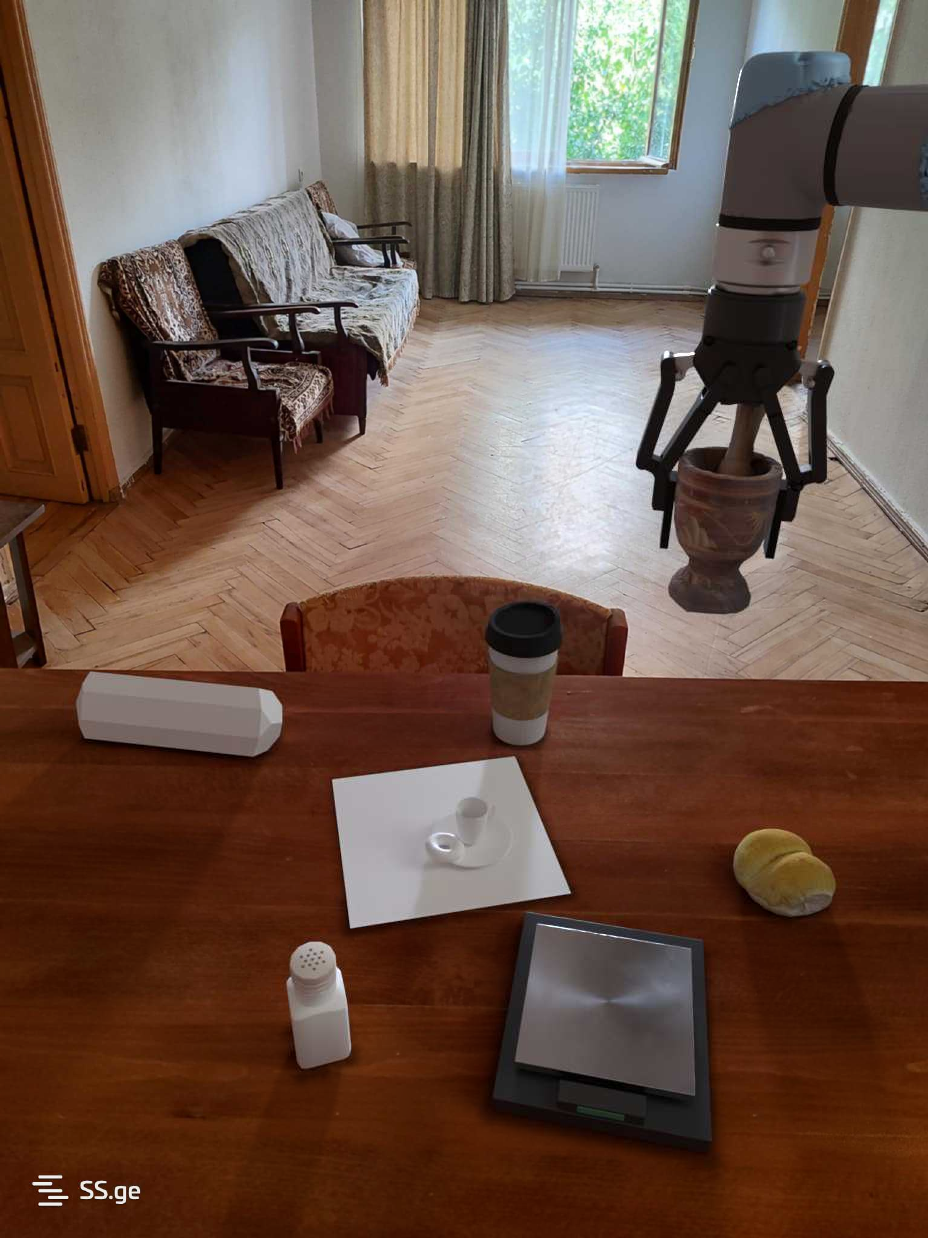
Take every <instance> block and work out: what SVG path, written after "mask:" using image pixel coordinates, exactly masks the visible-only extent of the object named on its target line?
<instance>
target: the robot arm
mask: <svg viewBox="0 0 928 1238" xmlns="http://www.w3.org/2000/svg"><path fill="white" fill-rule="evenodd" d="M851 67H852V66H851V59H850V57H849V56H848V54H846V53H844V52H841V51H829V50H828V51H827V50H826V51H825V50H824V51H823V50H822V51H821V50H809V51H798V50H797V51H795V50H793V51H791V50H790V51H772V52H771V51H770V52H761V53H757V54H755V55H753V56H751V57H750V58H748V60H746V61H745V63H744V64H743V66H742V68H741V69H740V73H739V77H738V82H737V87H736V92H735V97H734V102H733V108H732V113H731V117H730V118H731V119H730V122H728V124H727V132H728V139H727V147H726V157H725V165H724V173H723V180H722V181H723V183H722V189H721V199H720V206H719V207H720V208H719V213H718V219H717V224H716V228H715V229H716V230H715V236H714V244H713V251H712V258H711V266H710V273H709V275H710V278H711V279H712V280H713V281H715V282H716V283H715V284H714V285H712V286H711V287H710V289H708V290H707V295H706V302H705V310H704V317H703V324H702V325H703V326H702V332H701V337H700V341H699V343H698V345H697V346H696V347H695V349H694V351H693V352H684V353H674V352H673V351H671V350H667V351H666V350H665V351H664V352H663V353H662V354H661V357H660V364H659V367H660V368H659V369H660V371H659V372H660V373H659V374H660V382H659V385H658V388H657V391H656V394H655V397H654V400H653V403H652V406H651V409H650V413H649V416H648V419H647V422H646V424H645V428H644V431H643V434H642V436H641V440H640V443H639V446H638V449H637V453H636V457H635V467H636V468H637V470H640V471H646V472H648V473H651V475H652V476H653V478H654V479H653V486H652V487H653V488H652V497H651V508H652V511H657V512H662V518H661V526H660V534H659V535H660V537H659V549H660V550H661V549H663V550H668V549H669V543H670V537H671V528H672V521H673V515H674V498H675V490H676V481H677V470H674V468H675V467H676V465H678V462H679V457H681V456H682V455H683V453H684V452H685V451H687V450H688V447H689V446H690V444H691V442H692V441H693V440H694V438H695V437H696V435H697V434H698V432H699V431H700V429H701V428H702V426H703V425H704V423H706V422H705V421H706V420H707V419H708V417H709V416H710V415H711V414H712V413H713V412H714V410H715V409H716V407H717V405H718V404H719V403H720V404H719V405H721V406H733V405H737V404H743V405H746V406H749V407H759V405H762V404H763V405H764V408H765V412H766V414H765V416H766V418H767V421H768V424H769V427H770V430H771V433H772V437H773V440H774V443H775V446H776V449H777V453H778V457H779V459H780V464H781V466H782V467H783V468H782V470H783V473H784V475H785V478H782V481H781V485H780V490H779V493H778V498H777V501H776V508H775V513H774V516H773V519H772V522H771V525H770V528H769V530H768V532H767V534H766V536H765V538H764V540H763V542H762V547H763V548H762V549H763V554H764V558H765V559H766V560H767V559H768V560H775V556H776V551H777V546H778V541H779V537H780V536H779V535H780V531H781V527H782V522H786V523H792V522H793V521H794V520H795V518H796V515H797V511H798V505H799V502H800V501H799V500H800V495H801V492H802V491H803V490H804V488H805V486H808V485H811V484H817V485H821V484H823V483H825V482H826V481H827V479H828V407H827V406H828V400H827V398H828V394H829V391H830V388H831V386H832V383H833V380H834V377H835V369H834V367H833V366H832V364H831V362H830V361H829V360H828V359H823V358H822V359H819V360H818V361H816V360H811V359H808V358H807V359H806V358H801V355H800V353H799V340H800V335H801V331H802V324H803V319H804V314H805V310H806V309H805V308H806V305H807V304H806V303H807V299H808V298H807V297H808V295H807V294H806V292H805V290H803V289H802V288H801V287H803V286H804V285H806V284H807V283H809V282H810V281H811V276H812V270H813V266H814V265H813V264H814V261H815V254H816V248H817V243H818V237H819V231H820V228H821V225H822V219H823V218H822V217H823V213H824V209H825V207H826V206H832V207H859V208H869V209H870V208H871V209H883V210H893V211H905V212H908V211H909V212H921V213H928V83H919V84H918V83H917V84H896V85H895V84H893V85H891V84H890V85H869V84H860V83H851V81H852V77H851V75H850V72H851ZM691 368H694V369H695V371H696V373H697V375H698V376H699V378H700V380H701V381H702V384H703V387H702V389H700V392H699V393H698V395H697V397H696V400H695V401H694V402H693V404H692V406H691V407H690V409H689V410H688V412H687V413H686V415H685V417H684V418H683V420H682V421H681V422H680V424H679V426H678V428H677V429H676V431H675V432H674V433H673V435H672V436H671V438H670V440H669V441H668V443H667V444H666V445H665V447H664V449H663V450H662V452H661V454H658V455H657V454H656V453H655V450H656V447H657V444H658V441H659V439H660V435H661V432H662V429H663V426H664V423H665V420H666V417H667V414H668V411H669V409H670V405H671V403H672V400H673V397H674V394H675V390H676V383H677V382H681V381H683V380H684V379H685V378H686V376H687V375H686V374H687V372H688V371H689V369H691ZM797 374H800V375H801V382H802V385H803V387H804V388H805V389H807V393H806V394H807V395H806V396H807V398H806V399H807V400H806V401H807V404H806V405H807V450H808V451H807V452H808V453H807V454H808V455H807V456H808V458H807V459H808V463H807V464H805V465H801V466H799V463H798V460H797V456H796V452H795V448H794V446H793V443H792V439H791V436H790V433H789V429H788V427H787V426H788V425H787V423H786V420H785V416H784V412H783V410H782V406H781V403H780V400H779V397H778V393H779V392H780V391H781V390H782V389H783V388H784V387H785V386H786V385H787V384H788V383H789V382H790V381H791V380H792V379H793V378H794V377H795V376H796V375H797Z"/></svg>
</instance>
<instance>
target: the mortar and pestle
mask: <svg viewBox="0 0 928 1238" xmlns="http://www.w3.org/2000/svg"><path fill="white" fill-rule="evenodd" d="M765 416H766V412H765V408H764V405H763V404H762V405H759V407H749V406H746V405H743V404H736V408H735V415H734V423H733V427H732V431H731V437H730V441H729V444H728V446H714V445H713V446H704V447H693V448H690V449H686V450H685V452H684V453H683V455H682V456H681V457H679V461H678V462H677V470H676V471H677V481H676V490H675V498H674V507H673V522H674V523H673V524H674V528H675V535H676V539H677V541H678V542H677V543H678V544H679V545H680V547H681V549H682V550H683V552H684V553H685V554H686V556H687V557H688V562H687V564H686V565H685V566H681V567H680V568H679V569H678V570H677V571H676V572H674V574H672V575H671V578H670V580H669V584H668V586H667V592H668V596H669V597H670V598H671V600H672V601H674V603H676V604H677V606H679V607H680V608H681V609H682V610H683V611H685V612H686V613H697V614H707V615H730V614H738V613H741V612H743V611H744V610H746V609H747V608H748V607H749V606H750V603H751V600H752V594H751V591H750V588H749V585H748V581H747V579H746V578H745V576H743V574H742V573H741V571H740V568H741V565H743V563H744V562H746V561H747V560H749V559H751V558H752V557H753V556H755V555H756V553H757V552H758V551H759V549H760V548H761V546H762V545H763V543H764V538H765V536H766V534H767V532H768V530H769V528H770V525H771V522H772V519H773V516H774V513H775V508H776V501H777V498H778V493H779V490H780V485H781V481H782V479H783V477H784V469H783V466H782V463H781V462H779V461H778V460H776V459H775V458H773V457H771V456H767V455H765V454H764V453H761V452H757V451H755V442H756V440H757V437H758V434H759V431H760V428H761V425H762V422H763V419H764V418H765Z"/></svg>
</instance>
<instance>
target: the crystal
mask: <svg viewBox="0 0 928 1238" xmlns="http://www.w3.org/2000/svg"><path fill="white" fill-rule="evenodd" d="M75 706H76V712H77V713H76V714H77V720H78V727H79V729H80V731H81V733H82V735H83V738H84V739H90V740H97V741H105V742H106V741H107V742H115V743H126V744H135V745H145V746H153V747H163V748H171V749H181V750H190V751H199V752H206V753H208V752H209V753H218V754H227V755H234V756H242V757H243V756H244V757H245V756H246V757H251V758H253V757H256V756H258V755H260V754H263V753H265V752H267V751H269V749H270V748H271V747H272V746H273V745H274V743H275V742H276V741H277V740H278V739H279V738H280V736H281V731H282V726H283V704H282V703H281V701H280V700H279V699H278V697H277V696H276V694H275V693H274V691H272V690H268V689H264V688H260V687H252V686H251V687H249V686H241V685H240V686H239V685H229V684H222V683H221V684H219V683H210V682H200V681H190V680H182V679H181V680H180V679H179V680H178V679H169V678H159V677H149V676H141V675H140V676H139V675H129V674H120V673H118V674H117V673H109V672H99V671H89V673H88V674H87V676H86V677H85V679H84V681H83V682H82V684H81V687H80V689H79V693H78V696H77V697H76V701H75Z"/></svg>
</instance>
